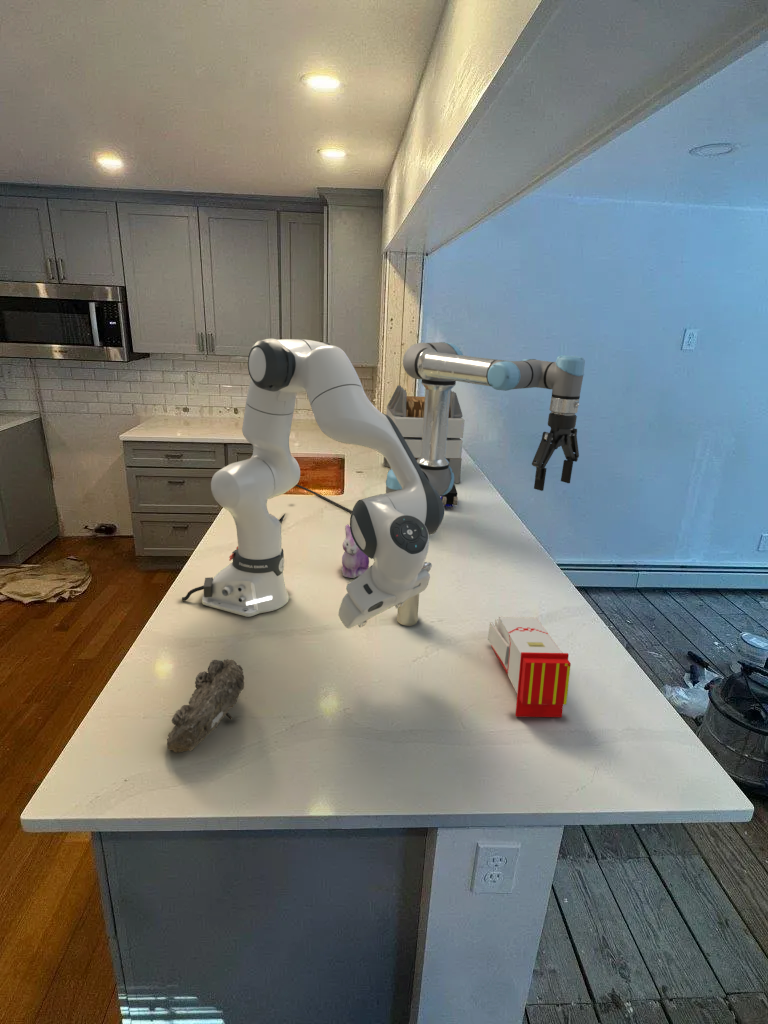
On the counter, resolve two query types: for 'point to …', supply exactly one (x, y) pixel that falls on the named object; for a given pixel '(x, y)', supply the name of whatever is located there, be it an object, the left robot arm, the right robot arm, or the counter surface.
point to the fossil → (206, 705)
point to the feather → (281, 518)
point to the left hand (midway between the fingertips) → (379, 613)
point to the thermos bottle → (408, 611)
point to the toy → (531, 665)
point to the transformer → (410, 424)
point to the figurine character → (450, 498)
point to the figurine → (353, 557)
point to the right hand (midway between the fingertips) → (552, 485)
